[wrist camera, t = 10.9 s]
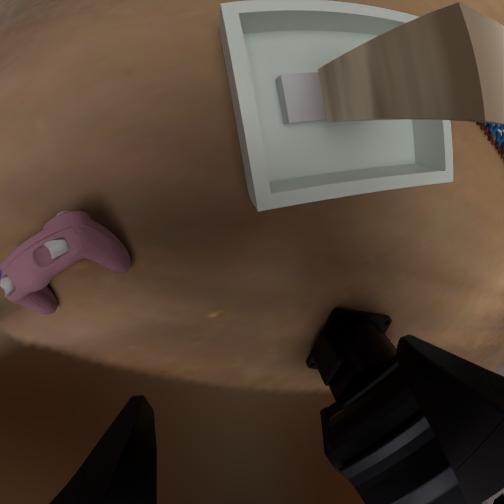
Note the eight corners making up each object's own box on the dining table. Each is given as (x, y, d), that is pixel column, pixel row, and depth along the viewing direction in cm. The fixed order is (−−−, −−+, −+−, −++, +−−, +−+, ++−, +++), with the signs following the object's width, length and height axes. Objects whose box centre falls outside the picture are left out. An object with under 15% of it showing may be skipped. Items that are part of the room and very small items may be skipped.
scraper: (384, 75, 16) (541, 52, 4) (391, 120, 17) (554, 135, 5) (274, 76, 15) (392, -22, 3) (283, 127, 17) (425, 115, 5)
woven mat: (523, 102, 18) (535, 103, 16) (505, 171, 21) (518, 174, 19) (478, 38, 15) (492, 36, 13) (458, 109, 18) (474, 109, 16)
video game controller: (119, 209, 19) (58, 189, 12) (141, 267, 19) (80, 269, 12) (38, 265, 20) (-22, 265, 13) (54, 315, 19) (-6, 328, 13)
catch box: (398, 32, 15) (429, 20, 11) (418, 171, 19) (453, 181, 16) (219, 29, 14) (220, 3, 10) (248, 196, 19) (258, 211, 15)
